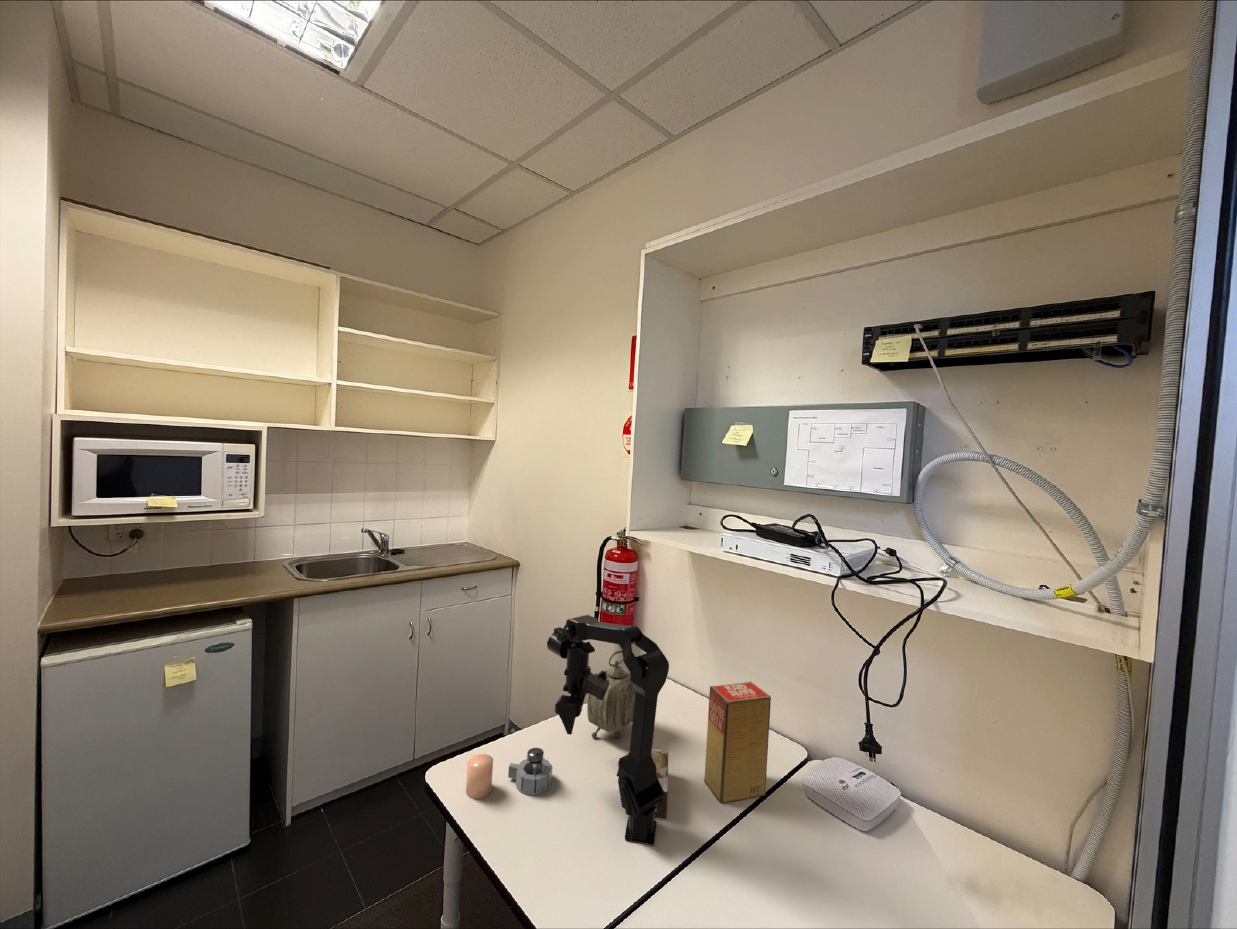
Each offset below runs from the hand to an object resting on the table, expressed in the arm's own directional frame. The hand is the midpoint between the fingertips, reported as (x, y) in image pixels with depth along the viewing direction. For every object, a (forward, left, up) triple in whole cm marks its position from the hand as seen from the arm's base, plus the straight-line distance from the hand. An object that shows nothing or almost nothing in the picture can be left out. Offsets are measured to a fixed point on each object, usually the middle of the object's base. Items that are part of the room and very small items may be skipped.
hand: (573, 724), depth 125 cm
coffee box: (+5, -21, -9) cm, 23 cm away
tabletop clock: (+19, -8, -13) cm, 24 cm away
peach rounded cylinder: (-12, +20, -12) cm, 26 cm away
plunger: (-7, +8, -12) cm, 16 cm away
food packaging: (+4, -42, -13) cm, 44 cm away
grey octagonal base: (-6, +9, -13) cm, 17 cm away
